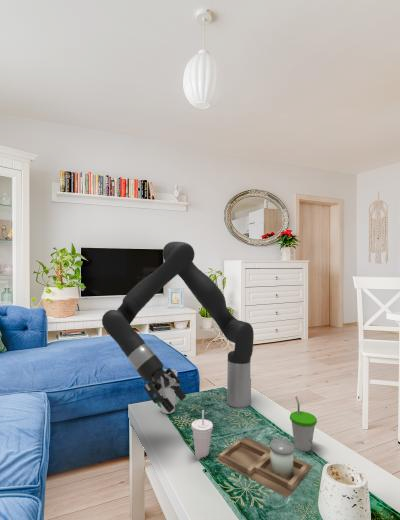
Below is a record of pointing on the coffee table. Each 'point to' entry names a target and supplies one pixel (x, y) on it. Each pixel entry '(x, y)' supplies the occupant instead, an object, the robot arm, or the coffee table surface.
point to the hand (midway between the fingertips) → (178, 404)
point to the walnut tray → (261, 466)
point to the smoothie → (201, 436)
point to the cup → (303, 429)
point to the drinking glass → (170, 396)
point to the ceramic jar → (281, 458)
